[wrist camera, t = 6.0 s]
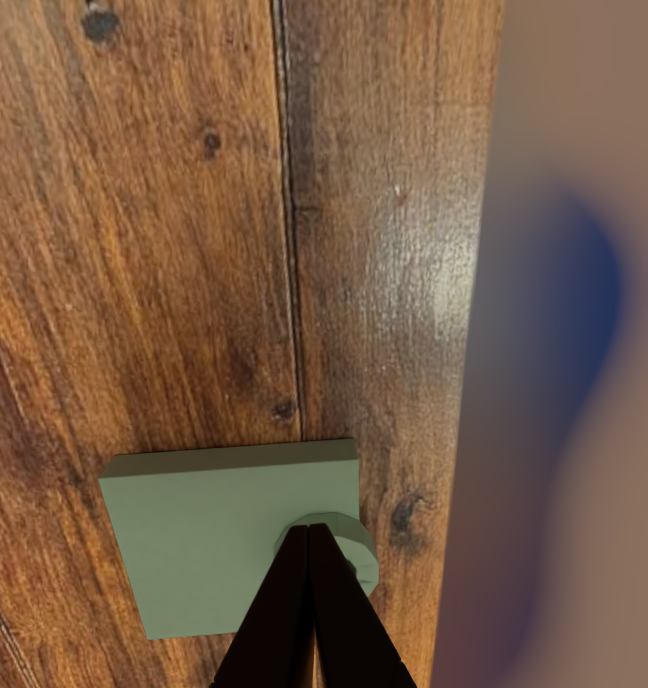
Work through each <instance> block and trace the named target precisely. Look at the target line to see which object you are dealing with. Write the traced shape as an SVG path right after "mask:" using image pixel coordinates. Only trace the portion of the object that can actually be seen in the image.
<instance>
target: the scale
mask: <svg viewBox="0 0 648 688" xmlns="http://www.w3.org/2000/svg"><path fill="white" fill-rule="evenodd" d="M98 482H99V485H100V488H101V491H102V495H103V498H104V501H105V504H106V508H107V511H108V514H109V517H110V520H111V524H112V527H113V530H114V533H115V537H116V540H117V543H118V546H119V549H120V553H121V556H122V559H123V562H124V566H125V569H126V572H127V575H128V578H129V582H130V585H131V588H132V591H133V595H134V598H135V601H136V604H137V607H138V611H139V614H140V617H141V620H142V624H143V627H144V630H145V633H146V636H147V640H154V639H165V638H176V637H187V636H198V635H209V634H220V633H231V632H237V631H238V629H239V627H240V625H241V623H242V621H243V619H244V617H245V615H246V613H247V611H248V609H249V607H250V605H251V603H252V601H253V599H254V597H255V595H256V593H257V591H258V589H259V587H260V585H261V583H262V581H263V579H264V578H265V576H266V574H267V572H268V570H269V568H270V566H271V564H272V562H273V560H274V558H275V556H276V554H277V552H278V550H279V548H280V546H281V544H282V542H283V540H284V538H285V536H286V534H287V532H288V530H289V528H290V527H291V526H294V525H304V524H306V525H307V526H308V528H309V525H310V524H314V523H326V524H327V525H328V527H329V529H330V530H331V532H332V534H333V536H334V538H335V540H336V541H337V543H338V545H339V547H340V549H341V550H342V552H343V554H344V556H345V558H346V560H347V561H348V563H349V565H350V567H351V569H352V570H353V572H354V574H355V576H356V578H357V580H358V581H359V583H360V585H361V587H362V589H363V590H364V592H365V594H366V596H367V597H368V596H369V595H370V593H371V592H372V591H373V589H374V588H375V587H376V585H377V584H378V581H379V562H378V557H377V553H376V548H375V544H374V539H373V537H372V536H371V535H370V533H369V532H368V531H367V530H366V528H365V527H364V526H363V525H362V523H361V522H360V521H359V459H358V455H357V451H356V446H355V442H354V439H339V440H325V441H311V442H297V443H283V444H269V445H255V446H241V447H227V448H213V449H199V450H185V451H171V452H157V453H143V454H129V455H116V456H114V458H113V459H112V460H111V462H110V463H109V464H108V466H107V467H106V468H105V470H104V471H103V472H102V474H101V475H100V476H99V478H98Z"/></svg>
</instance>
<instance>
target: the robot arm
mask: <svg viewBox="0 0 648 688" xmlns="http://www.w3.org/2000/svg"><path fill="white" fill-rule="evenodd" d="M315 632H316V640H317V648H318V655H319V661H320V668H321V675H322V681H323V688H417V686H416V684H415V683H414V681H413V679H412V677H411V675H410V674H409V672H408V670H407V668H406V666H405V665H404V663H403V662H401V658H400V656H399V654H398V652H397V650H396V649H395V647H394V645H393V643H392V641H391V640H390V638H389V636H388V634H387V632H386V630H385V629H384V627H383V625H382V623H381V621H380V620H379V618H378V616H377V614H376V612H375V610H374V609H373V607H372V605H371V603H370V601H369V600H368V598H367V596H366V594H365V592H364V590H363V589H362V587H361V585H360V583H359V581H358V580H357V578H356V576H355V574H354V572H353V570H352V569H351V567H350V565H349V563H348V561H347V560H346V558H345V556H344V554H343V552H342V550H341V549H340V547H339V545H338V543H337V541H336V540H335V538H334V536H333V534H332V532H331V530H330V529H329V527H328V525H327V524H326V523H314V524H310V525H309V528H308V526H307V525H306V524H304V525H294V526H291V527H290V528H289V530H288V532H287V534H286V536H285V538H284V540H283V542H282V544H281V546H280V548H279V550H278V552H277V554H276V556H275V558H274V560H273V562H272V564H271V566H270V568H269V570H268V572H267V574H266V576H265V578H264V579H263V581H262V583H261V585H260V587H259V589H258V591H257V593H256V595H255V597H254V599H253V601H252V603H251V605H250V607H249V609H248V611H247V613H246V615H245V617H244V619H243V621H242V623H241V625H240V627H239V629H238V631H237V633H236V635H235V637H234V639H233V641H232V643H231V645H230V647H229V649H228V651H227V653H226V655H225V657H224V659H223V661H222V663H221V665H220V667H219V669H218V671H217V673H216V675H215V677H214V682H215V683H214V682H212V683H211V684H210V686H209V688H312V681H313V664H314V646H315Z"/></svg>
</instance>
